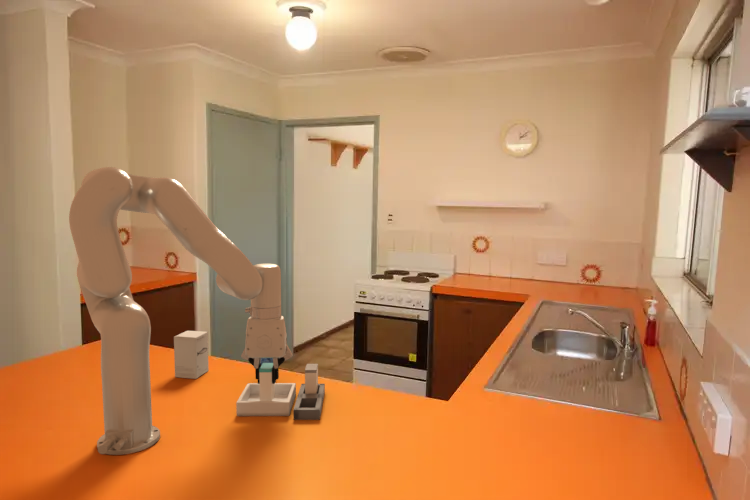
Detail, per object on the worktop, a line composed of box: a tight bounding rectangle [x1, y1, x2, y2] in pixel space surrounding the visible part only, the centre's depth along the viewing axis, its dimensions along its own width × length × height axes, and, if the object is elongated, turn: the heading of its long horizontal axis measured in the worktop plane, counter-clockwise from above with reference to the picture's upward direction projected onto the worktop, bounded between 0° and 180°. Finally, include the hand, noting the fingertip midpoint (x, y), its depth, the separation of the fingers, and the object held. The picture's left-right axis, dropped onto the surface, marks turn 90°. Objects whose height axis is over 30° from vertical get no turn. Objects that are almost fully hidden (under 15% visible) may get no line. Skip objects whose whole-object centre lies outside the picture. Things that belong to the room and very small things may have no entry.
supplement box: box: [173, 330, 210, 380], centre depth 157 cm, size 7×7×13 cm
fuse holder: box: [292, 383, 326, 421], centre depth 135 cm, size 17×6×2 cm, turn 2°
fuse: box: [304, 363, 319, 394], centre depth 139 cm, size 5×3×9 cm, turn 2°
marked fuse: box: [259, 363, 275, 401], centre depth 134 cm, size 5×3×9 cm, turn 2°
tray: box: [235, 382, 297, 417], centre depth 135 cm, size 13×13×4 cm
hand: (267, 381), depth 134 cm, fingers closed on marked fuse, 3 cm apart
